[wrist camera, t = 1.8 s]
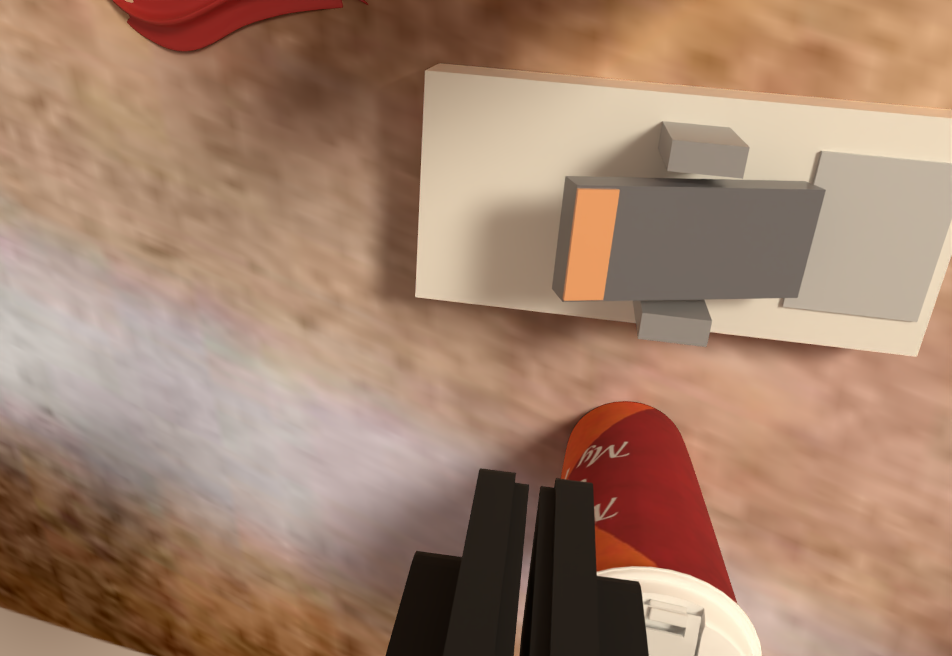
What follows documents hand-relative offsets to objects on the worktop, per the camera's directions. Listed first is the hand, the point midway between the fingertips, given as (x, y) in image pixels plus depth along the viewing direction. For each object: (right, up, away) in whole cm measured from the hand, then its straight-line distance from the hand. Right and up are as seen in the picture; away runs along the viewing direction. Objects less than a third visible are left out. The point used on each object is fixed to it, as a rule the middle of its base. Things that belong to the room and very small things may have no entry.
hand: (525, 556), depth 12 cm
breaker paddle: (+7, +6, +15) cm, 18 cm away
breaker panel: (+7, +9, +21) cm, 24 cm away
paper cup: (+6, -3, +26) cm, 27 cm away
